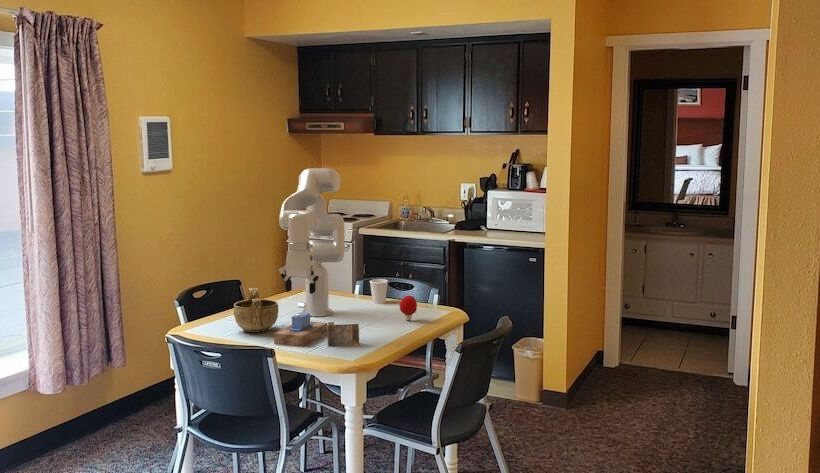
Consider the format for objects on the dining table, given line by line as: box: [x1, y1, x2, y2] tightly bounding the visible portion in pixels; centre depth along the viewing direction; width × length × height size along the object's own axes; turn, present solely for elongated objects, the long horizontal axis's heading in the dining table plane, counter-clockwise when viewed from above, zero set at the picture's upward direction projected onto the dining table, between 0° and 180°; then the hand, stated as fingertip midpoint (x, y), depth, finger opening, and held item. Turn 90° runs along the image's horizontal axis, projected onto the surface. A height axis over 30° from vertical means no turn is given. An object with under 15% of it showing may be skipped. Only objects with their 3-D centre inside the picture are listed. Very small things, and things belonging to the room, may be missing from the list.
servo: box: [289, 311, 313, 332], centre depth 294 cm, size 11×4×9 cm, turn 160°
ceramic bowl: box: [233, 287, 279, 333], centre depth 306 cm, size 22×17×15 cm
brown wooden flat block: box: [273, 321, 328, 348], centre depth 294 cm, size 12×20×4 cm, turn 161°
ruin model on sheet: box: [327, 321, 360, 347], centre depth 285 cm, size 11×3×10 cm, turn 97°
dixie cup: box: [369, 278, 389, 305], centre depth 354 cm, size 8×8×10 cm
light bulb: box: [399, 295, 418, 322], centre depth 320 cm, size 9×7×10 cm
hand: (300, 292), depth 293 cm, fingers open, 9 cm apart
